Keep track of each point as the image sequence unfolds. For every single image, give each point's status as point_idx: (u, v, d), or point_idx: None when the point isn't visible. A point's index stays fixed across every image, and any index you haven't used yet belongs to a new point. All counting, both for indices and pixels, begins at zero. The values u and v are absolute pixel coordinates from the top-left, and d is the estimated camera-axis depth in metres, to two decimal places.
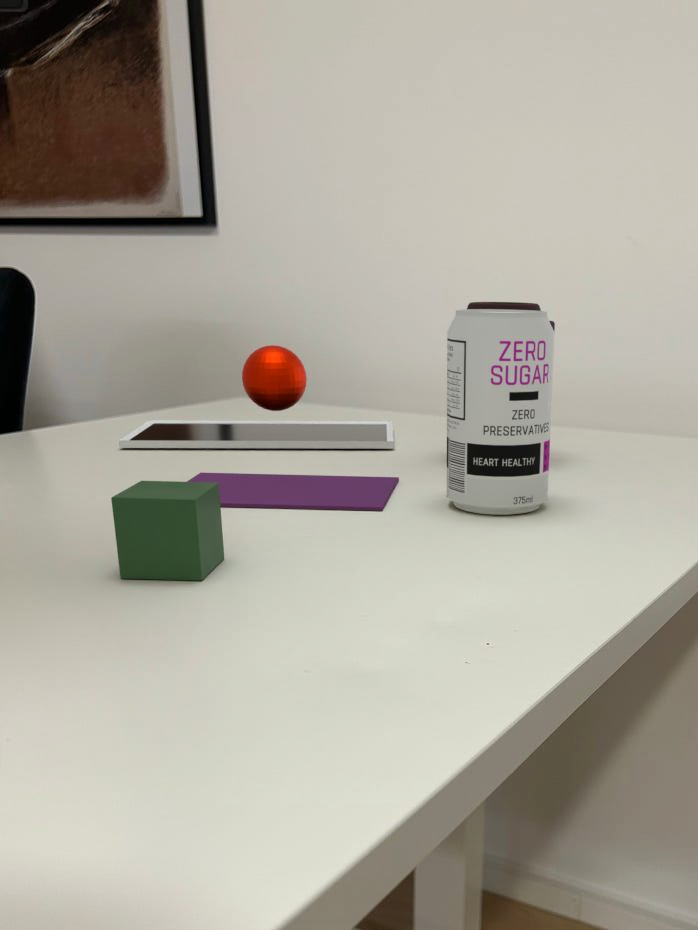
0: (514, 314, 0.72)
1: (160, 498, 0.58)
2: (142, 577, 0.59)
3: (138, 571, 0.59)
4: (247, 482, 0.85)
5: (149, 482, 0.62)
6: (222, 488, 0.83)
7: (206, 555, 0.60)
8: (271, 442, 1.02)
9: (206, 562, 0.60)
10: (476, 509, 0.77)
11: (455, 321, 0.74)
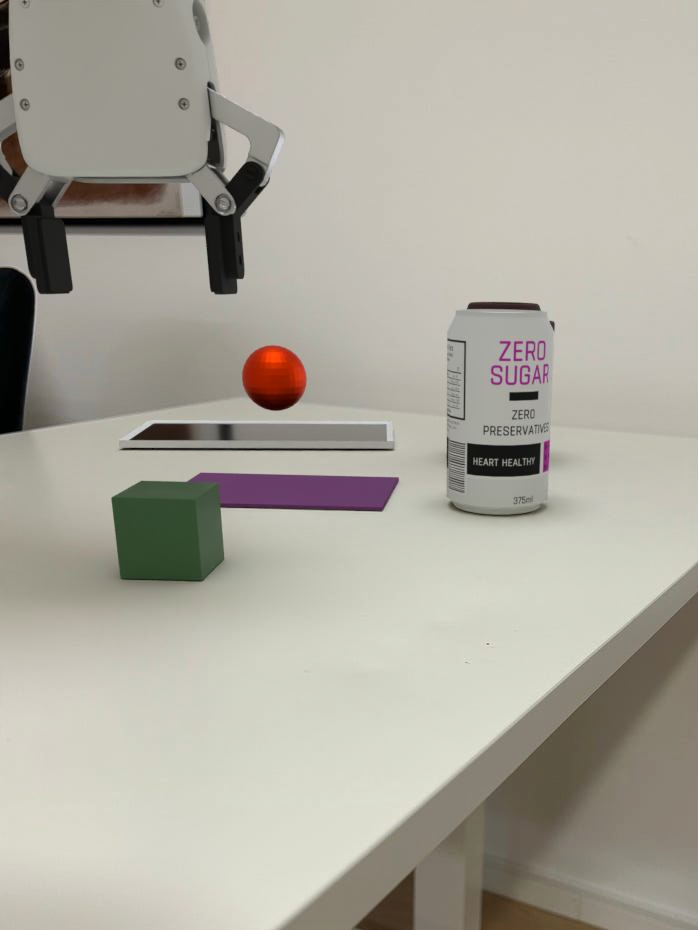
0: (514, 314, 0.72)
1: (160, 498, 0.58)
2: (142, 577, 0.59)
3: (138, 571, 0.59)
4: (247, 482, 0.85)
5: (149, 482, 0.62)
6: (222, 488, 0.83)
7: (206, 555, 0.60)
8: (271, 442, 1.02)
9: (206, 562, 0.60)
10: (476, 509, 0.77)
11: (455, 321, 0.74)
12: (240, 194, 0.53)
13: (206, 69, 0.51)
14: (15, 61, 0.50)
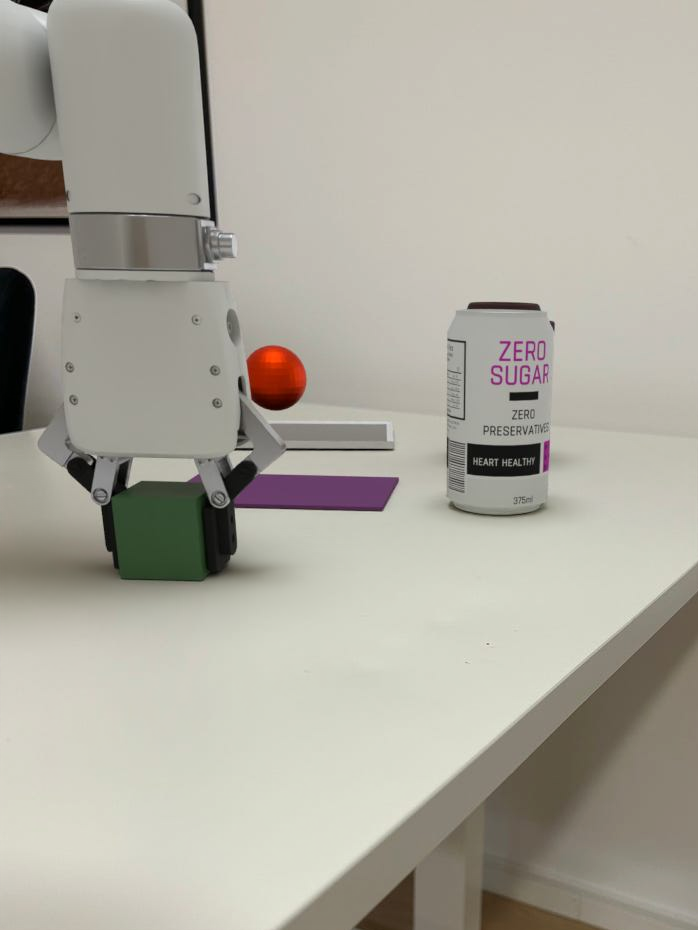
0: (514, 314, 0.72)
1: (160, 498, 0.58)
2: (142, 577, 0.59)
3: (138, 571, 0.59)
4: None
5: (149, 482, 0.62)
6: None
7: None
8: None
9: None
10: (476, 509, 0.77)
11: (455, 321, 0.74)
12: (234, 488, 0.59)
13: (237, 367, 0.57)
14: (66, 364, 0.56)
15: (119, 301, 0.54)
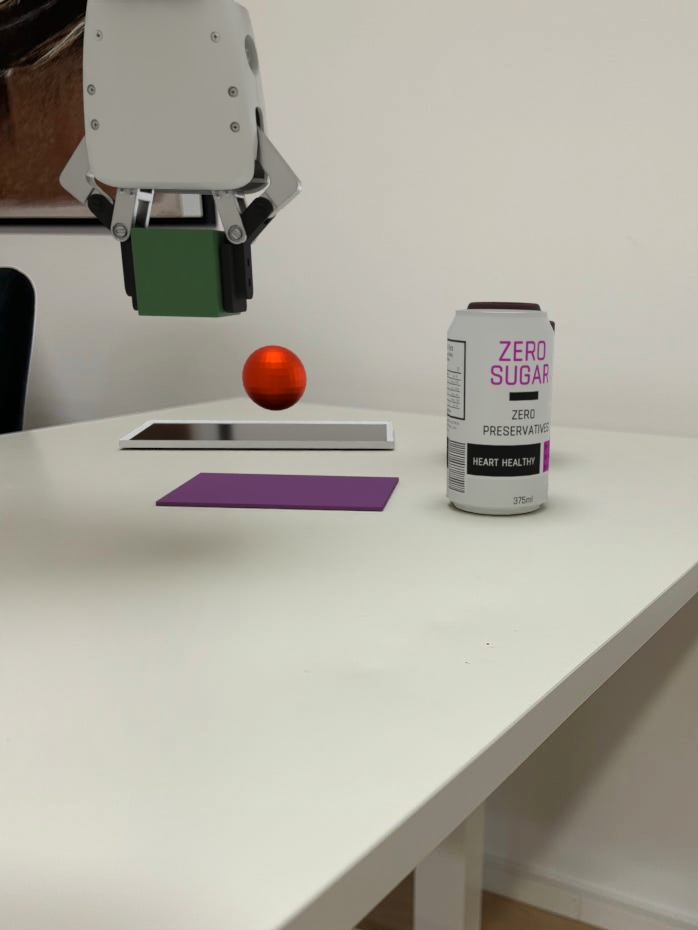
0: (514, 314, 0.72)
1: (178, 229, 0.59)
2: (159, 314, 0.60)
3: (156, 307, 0.60)
4: (247, 482, 0.85)
5: None
6: (222, 488, 0.83)
7: None
8: (271, 442, 1.02)
9: None
10: (476, 509, 0.77)
11: (455, 321, 0.74)
12: (250, 225, 0.60)
13: (255, 95, 0.58)
14: (87, 86, 0.57)
15: (140, 16, 0.55)
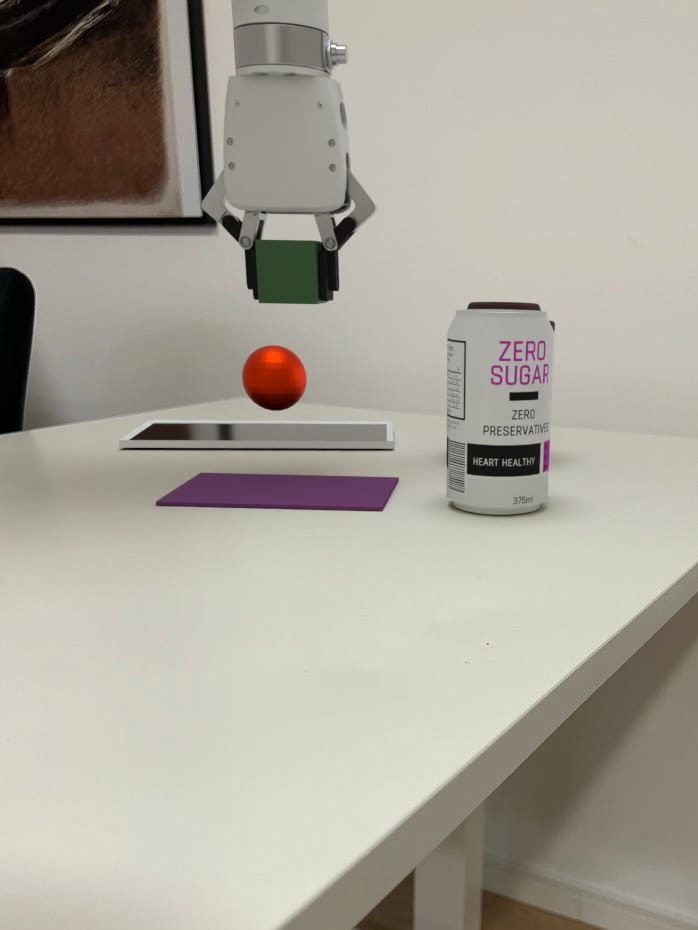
0: (514, 314, 0.72)
1: (289, 240, 0.81)
2: (274, 301, 0.83)
3: (271, 297, 0.83)
4: (247, 482, 0.85)
5: None
6: (222, 488, 0.83)
7: None
8: (271, 442, 1.02)
9: None
10: (476, 509, 0.77)
11: (455, 321, 0.74)
12: (340, 237, 0.83)
13: (345, 144, 0.81)
14: (227, 139, 0.79)
15: (268, 91, 0.78)
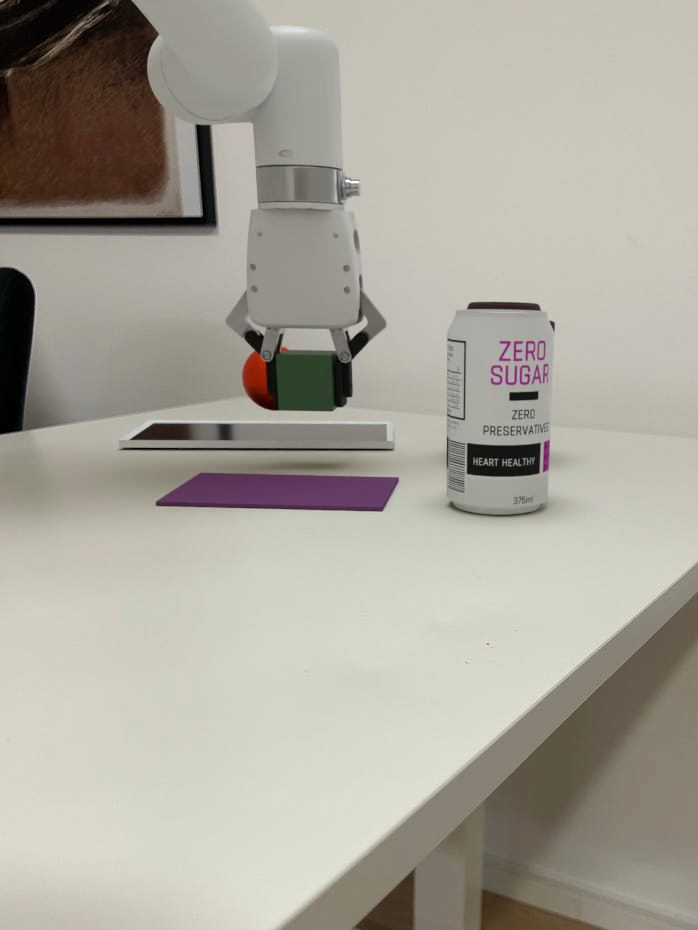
0: (514, 314, 0.72)
1: (307, 354, 0.88)
2: (293, 409, 0.90)
3: (291, 405, 0.90)
4: (247, 482, 0.85)
5: (294, 350, 0.93)
6: (222, 488, 0.83)
7: None
8: (271, 442, 1.02)
9: None
10: (476, 509, 0.77)
11: (455, 321, 0.74)
12: (354, 350, 0.90)
13: (359, 268, 0.88)
14: (250, 265, 0.86)
15: (288, 223, 0.85)
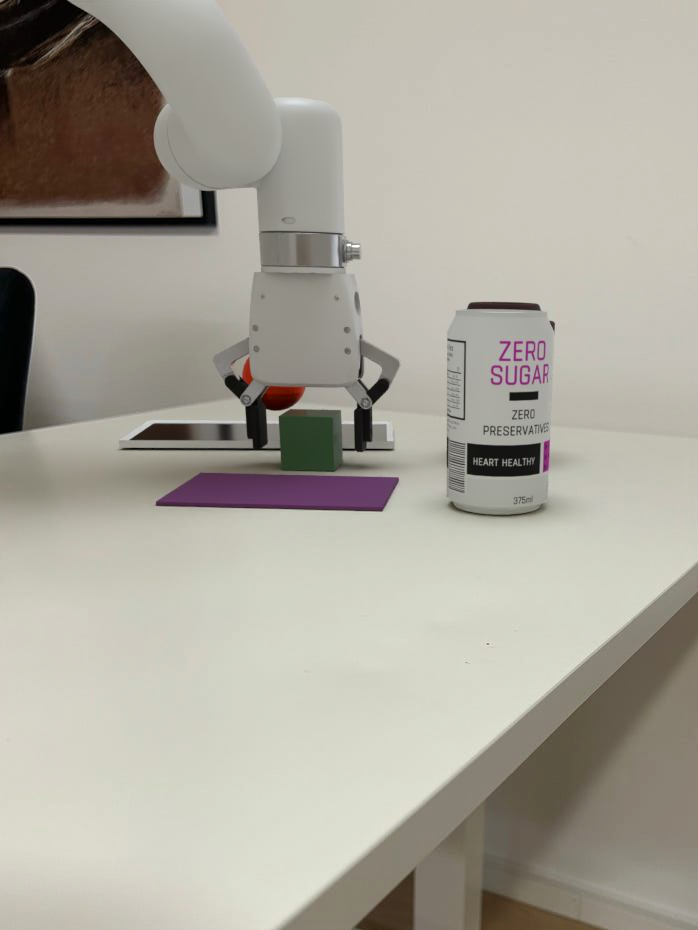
0: (514, 314, 0.72)
1: (310, 416, 0.90)
2: (295, 469, 0.92)
3: (293, 465, 0.92)
4: (247, 482, 0.85)
5: (296, 409, 0.95)
6: (222, 488, 0.83)
7: (336, 455, 0.93)
8: (271, 442, 1.02)
9: (336, 460, 0.93)
10: (476, 509, 0.77)
11: (455, 321, 0.74)
12: (375, 396, 0.91)
13: (359, 328, 0.89)
14: (253, 326, 0.88)
15: (290, 286, 0.86)
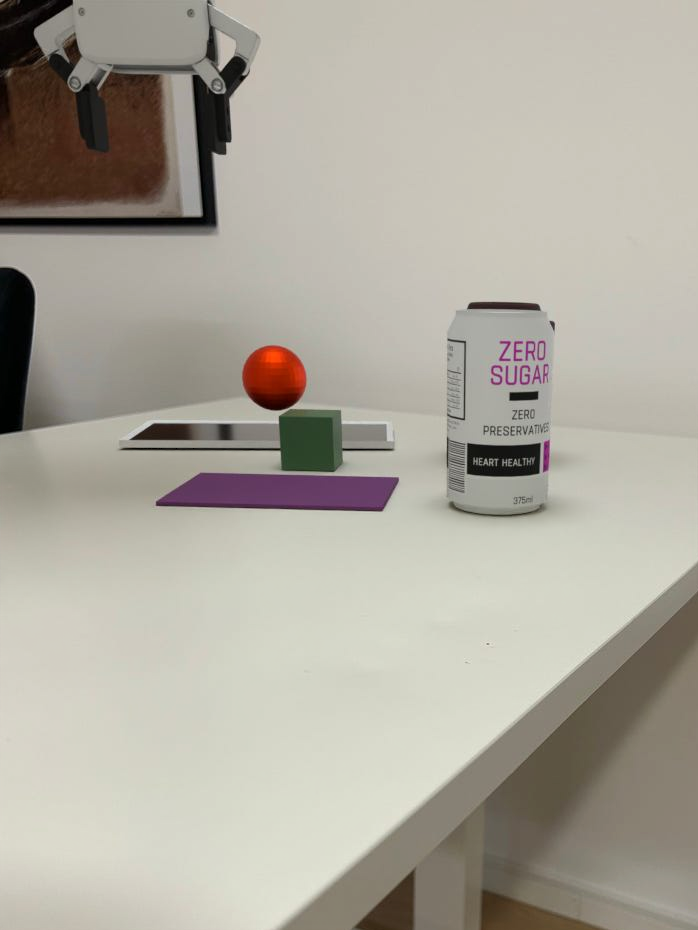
0: (514, 314, 0.72)
1: (310, 416, 0.90)
2: (295, 469, 0.92)
3: (293, 465, 0.92)
4: (247, 482, 0.85)
5: (296, 409, 0.95)
6: (222, 488, 0.83)
7: (336, 455, 0.93)
8: (271, 442, 1.02)
9: (336, 460, 0.93)
10: (476, 509, 0.77)
11: (455, 321, 0.74)
12: (229, 79, 0.76)
13: None
14: None
15: None
